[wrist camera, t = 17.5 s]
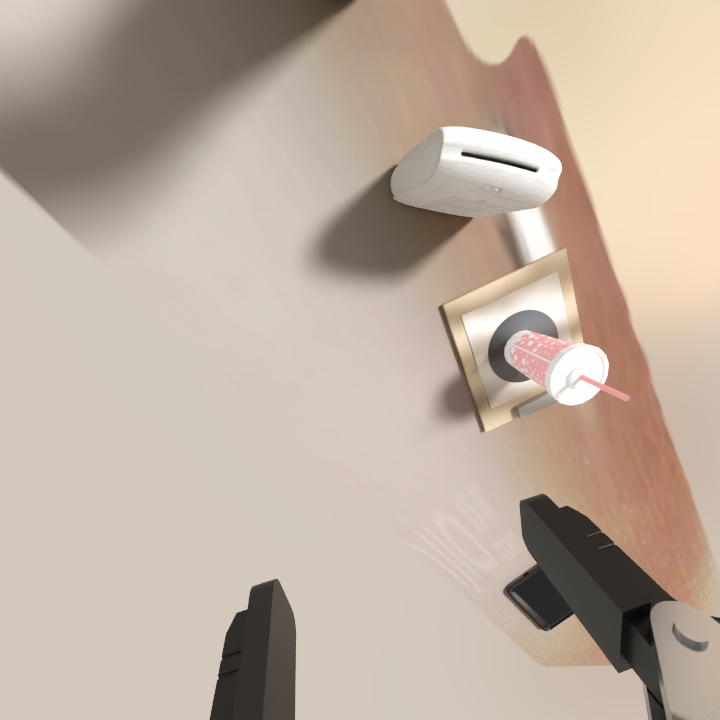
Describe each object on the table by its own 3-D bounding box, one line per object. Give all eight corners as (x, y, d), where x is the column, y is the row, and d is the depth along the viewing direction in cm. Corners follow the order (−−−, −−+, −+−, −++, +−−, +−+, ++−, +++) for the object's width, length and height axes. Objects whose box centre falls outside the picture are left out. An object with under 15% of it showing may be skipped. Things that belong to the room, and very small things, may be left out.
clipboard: (441, 304, 38) (446, 306, 37) (562, 248, 38) (571, 248, 37) (484, 430, 44) (489, 435, 43) (587, 381, 44) (595, 384, 43)
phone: (546, 633, 59) (506, 592, 54) (541, 626, 60) (502, 585, 55) (583, 607, 59) (547, 563, 53) (578, 600, 60) (542, 557, 54)
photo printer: (490, 177, 34) (586, 142, 23) (479, 222, 36) (565, 211, 24) (394, 154, 32) (445, 104, 21) (385, 203, 34) (430, 181, 22)
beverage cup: (526, 380, 42) (628, 441, 29) (488, 361, 40) (578, 417, 27) (555, 336, 41) (675, 380, 28) (516, 315, 39) (626, 350, 26)
